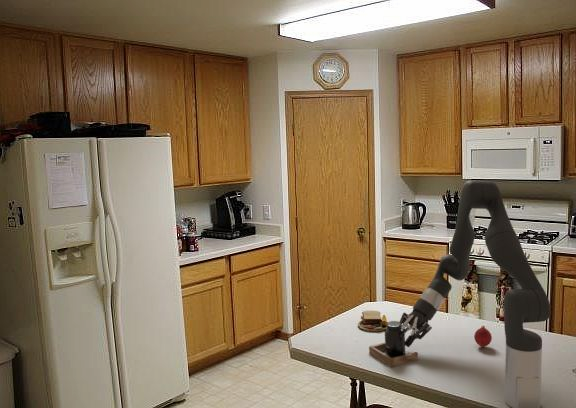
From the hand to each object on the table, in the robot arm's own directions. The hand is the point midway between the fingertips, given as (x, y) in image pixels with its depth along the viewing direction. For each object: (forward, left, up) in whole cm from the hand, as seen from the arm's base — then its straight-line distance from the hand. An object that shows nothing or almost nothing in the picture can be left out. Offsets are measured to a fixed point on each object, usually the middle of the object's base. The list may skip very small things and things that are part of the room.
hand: (401, 342), depth 184 cm
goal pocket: (-2, +3, -4) cm, 5 cm away
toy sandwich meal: (+27, +8, -5) cm, 29 cm away
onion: (+5, -29, -4) cm, 30 cm away
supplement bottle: (-2, +2, -4) cm, 5 cm away
